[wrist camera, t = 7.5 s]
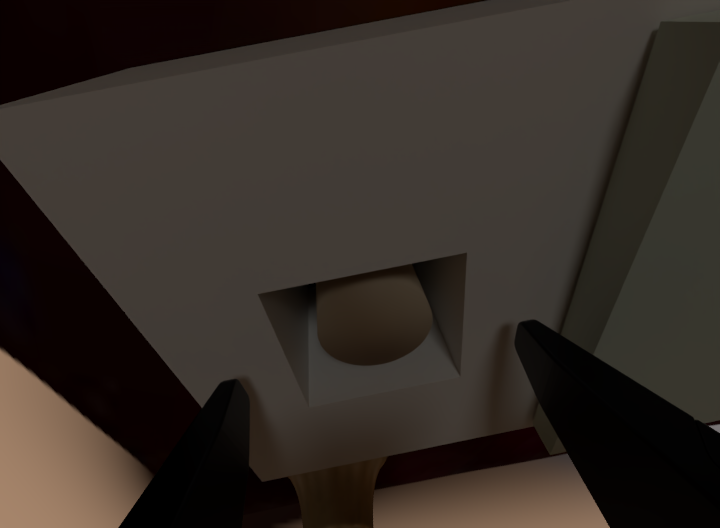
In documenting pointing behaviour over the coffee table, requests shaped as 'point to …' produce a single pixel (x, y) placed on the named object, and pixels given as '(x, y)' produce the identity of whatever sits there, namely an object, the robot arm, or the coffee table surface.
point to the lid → (660, 234)
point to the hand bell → (338, 495)
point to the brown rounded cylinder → (372, 316)
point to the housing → (349, 206)
